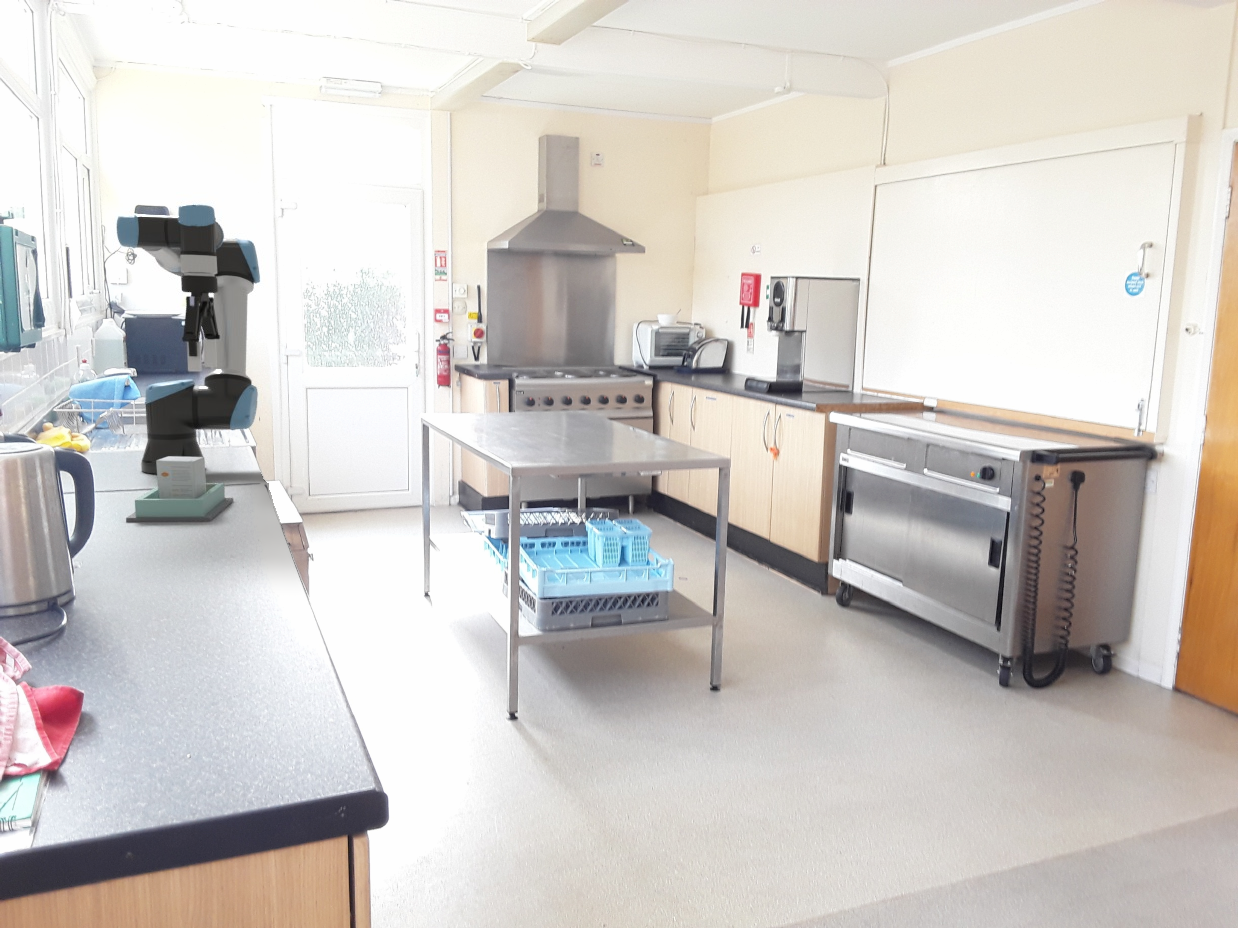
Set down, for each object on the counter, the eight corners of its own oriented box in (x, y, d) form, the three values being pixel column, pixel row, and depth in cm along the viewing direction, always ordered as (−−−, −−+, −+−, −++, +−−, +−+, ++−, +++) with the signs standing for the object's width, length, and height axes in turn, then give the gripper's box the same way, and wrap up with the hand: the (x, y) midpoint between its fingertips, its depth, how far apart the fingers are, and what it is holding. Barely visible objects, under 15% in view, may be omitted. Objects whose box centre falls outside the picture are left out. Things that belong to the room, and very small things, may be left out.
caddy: (157, 501, 210) (156, 482, 209) (233, 501, 212) (232, 482, 212) (126, 521, 190) (125, 500, 190) (210, 521, 193) (209, 500, 192)
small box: (207, 504, 205) (205, 456, 203) (196, 510, 199) (194, 460, 197) (170, 503, 204) (168, 455, 203) (158, 509, 199) (155, 459, 197)
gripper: (196, 276, 225) (200, 365, 229) (164, 273, 201) (169, 372, 204) (229, 277, 226) (233, 365, 230) (202, 274, 202) (206, 373, 206)
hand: (203, 369), depth 217 cm, fingers open, 13 cm apart
